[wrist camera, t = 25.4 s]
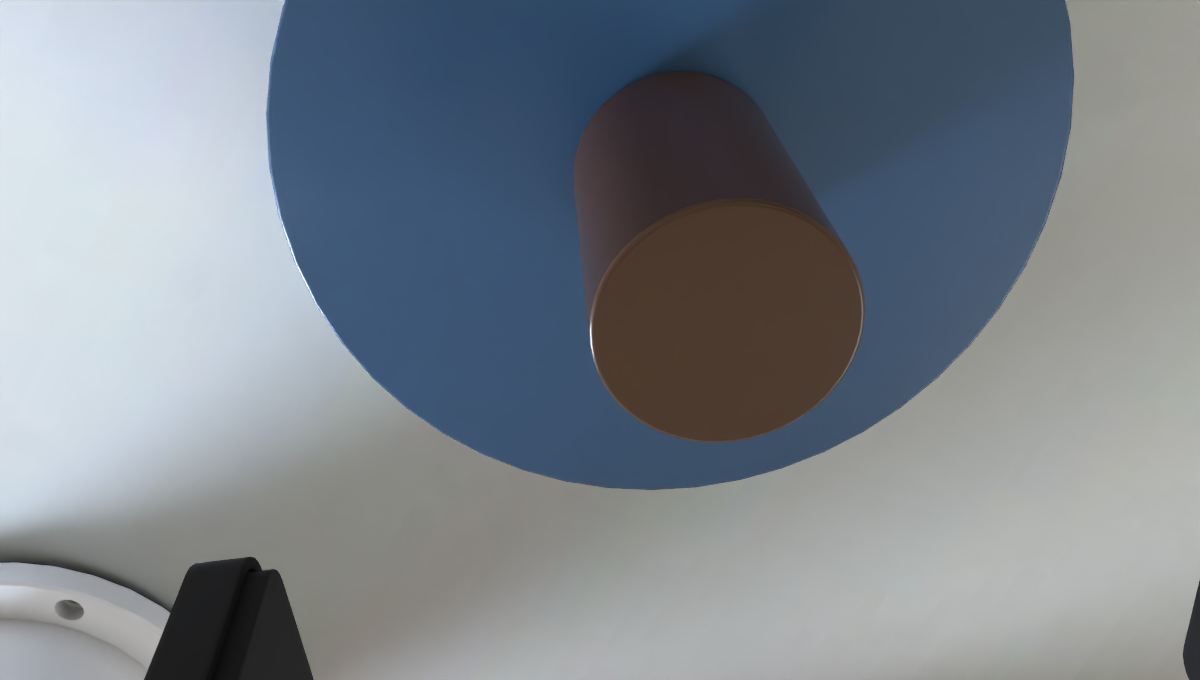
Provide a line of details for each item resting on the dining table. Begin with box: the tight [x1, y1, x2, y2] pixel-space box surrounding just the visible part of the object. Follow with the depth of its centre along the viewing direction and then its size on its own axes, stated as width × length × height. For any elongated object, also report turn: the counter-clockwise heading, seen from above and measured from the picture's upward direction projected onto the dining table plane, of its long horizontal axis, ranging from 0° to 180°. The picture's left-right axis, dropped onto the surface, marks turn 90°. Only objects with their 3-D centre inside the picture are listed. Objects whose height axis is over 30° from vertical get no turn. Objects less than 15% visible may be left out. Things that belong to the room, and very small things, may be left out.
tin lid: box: [266, 0, 1074, 490], centre depth 18 cm, size 15×15×7 cm
